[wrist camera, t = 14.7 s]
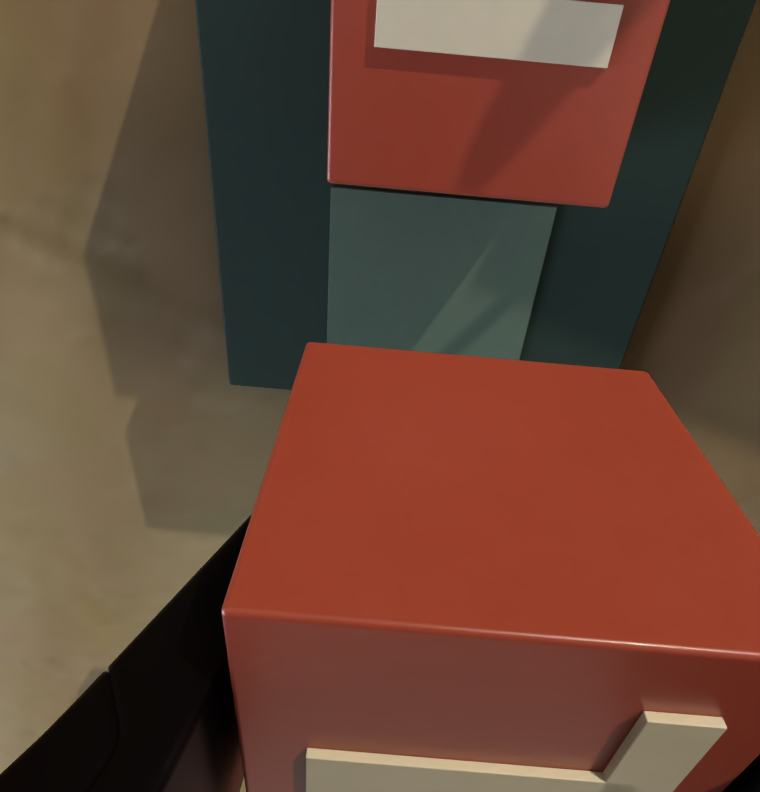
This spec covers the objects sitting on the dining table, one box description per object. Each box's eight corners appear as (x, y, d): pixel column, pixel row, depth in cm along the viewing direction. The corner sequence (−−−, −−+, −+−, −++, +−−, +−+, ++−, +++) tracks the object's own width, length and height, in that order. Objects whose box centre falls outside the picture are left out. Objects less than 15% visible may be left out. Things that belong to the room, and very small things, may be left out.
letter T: (559, 586, 11) (641, 890, 7) (306, 565, 11) (250, 858, 7) (647, 369, 8) (860, 678, 4) (306, 339, 8) (215, 623, 4)
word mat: (598, 410, 18) (602, 419, 18) (232, 378, 18) (228, 386, 18) (1066, -876, 7) (1107, -932, 7) (116, -974, 7) (98, -1037, 7)
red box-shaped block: (553, 158, 14) (610, 211, 10) (349, 139, 13) (325, 185, 10) (619, -118, 11) (734, -196, 7) (361, -142, 11) (334, -235, 7)
